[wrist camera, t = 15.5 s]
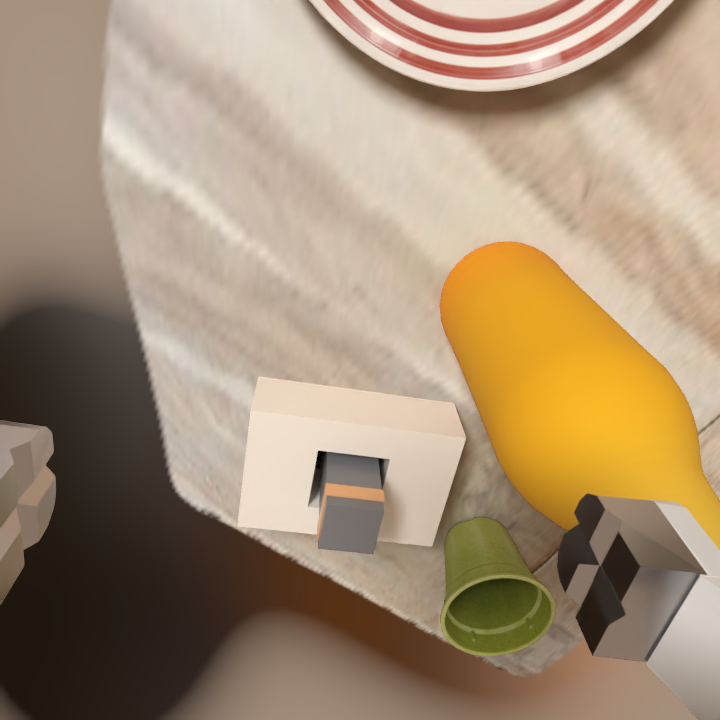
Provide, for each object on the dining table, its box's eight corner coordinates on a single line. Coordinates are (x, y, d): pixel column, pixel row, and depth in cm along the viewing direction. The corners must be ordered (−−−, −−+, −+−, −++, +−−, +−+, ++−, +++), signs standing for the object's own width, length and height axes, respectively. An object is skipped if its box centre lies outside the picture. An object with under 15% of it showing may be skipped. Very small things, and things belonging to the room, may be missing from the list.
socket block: (454, 402, 49) (466, 438, 44) (423, 505, 54) (432, 546, 49) (258, 376, 47) (250, 410, 42) (245, 485, 52) (237, 526, 47)
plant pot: (410, 564, 57) (422, 644, 49) (450, 490, 53) (471, 565, 45) (497, 585, 59) (522, 665, 51) (542, 516, 55) (577, 591, 47)
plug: (376, 428, 50) (386, 510, 41) (367, 468, 52) (374, 555, 43) (326, 422, 49) (325, 503, 40) (319, 462, 51) (316, 549, 42)
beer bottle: (479, 215, 42) (717, 478, 16) (584, 271, 44) (940, 580, 18) (414, 323, 45) (522, 679, 20) (514, 370, 48) (728, 744, 22)
